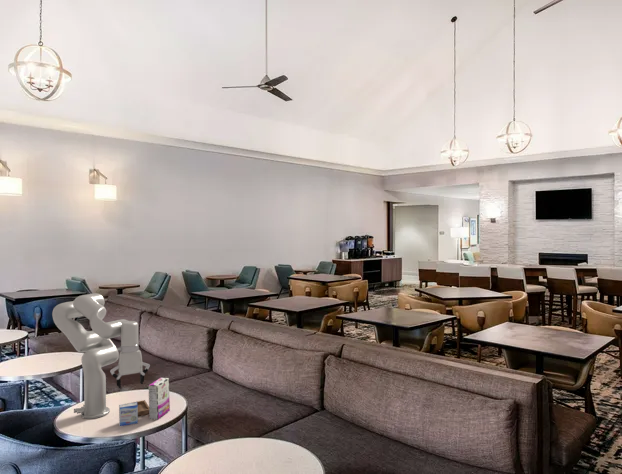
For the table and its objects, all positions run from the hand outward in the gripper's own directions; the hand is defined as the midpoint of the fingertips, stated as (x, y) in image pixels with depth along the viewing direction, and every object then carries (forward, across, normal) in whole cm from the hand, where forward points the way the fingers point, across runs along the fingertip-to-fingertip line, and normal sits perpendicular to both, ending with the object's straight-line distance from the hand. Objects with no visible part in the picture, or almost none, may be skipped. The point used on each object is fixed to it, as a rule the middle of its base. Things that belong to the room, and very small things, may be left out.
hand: (130, 385), depth 210 cm
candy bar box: (+18, +13, +2) cm, 22 cm away
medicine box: (+18, -1, 0) cm, 18 cm away
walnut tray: (+17, +5, +12) cm, 22 cm away
